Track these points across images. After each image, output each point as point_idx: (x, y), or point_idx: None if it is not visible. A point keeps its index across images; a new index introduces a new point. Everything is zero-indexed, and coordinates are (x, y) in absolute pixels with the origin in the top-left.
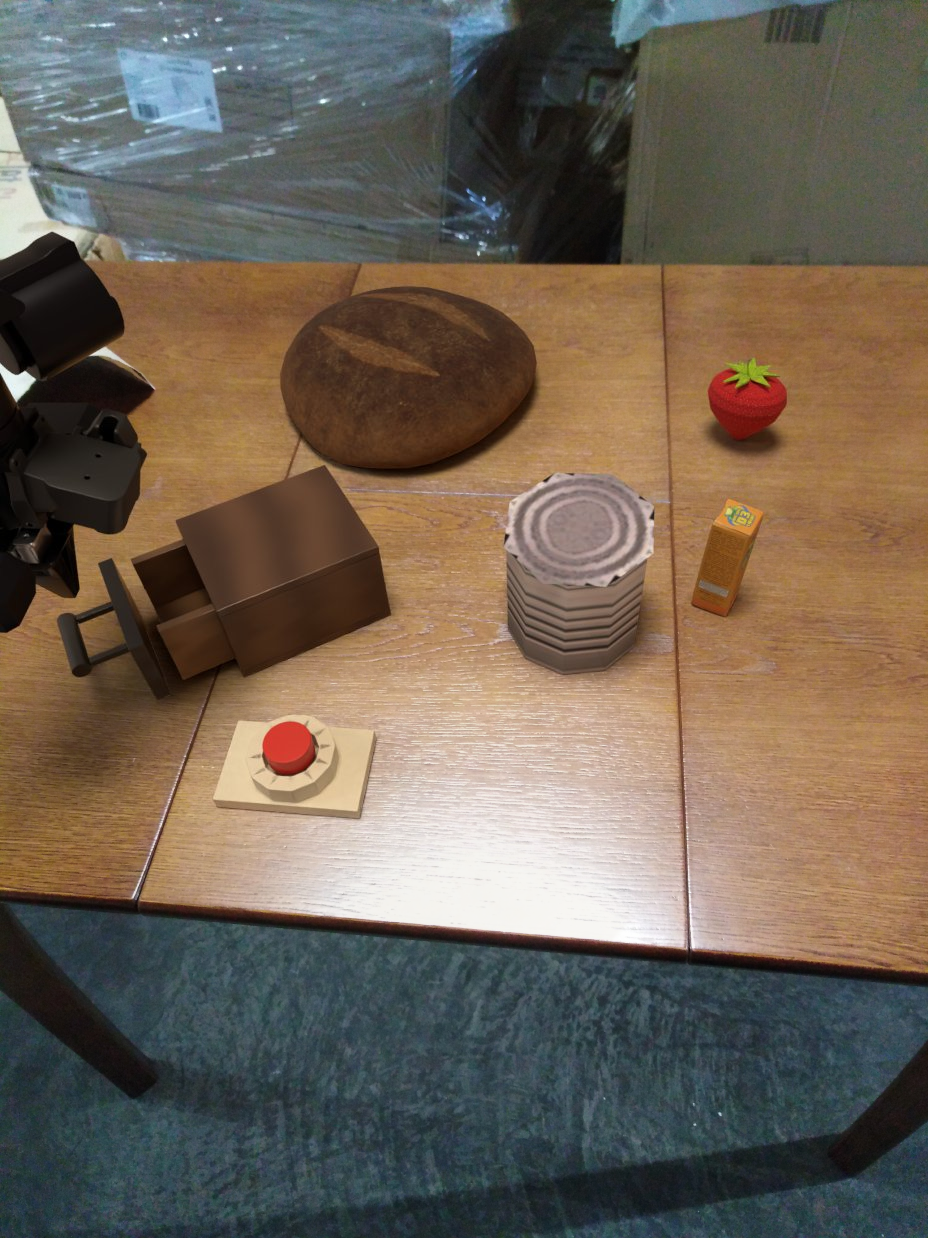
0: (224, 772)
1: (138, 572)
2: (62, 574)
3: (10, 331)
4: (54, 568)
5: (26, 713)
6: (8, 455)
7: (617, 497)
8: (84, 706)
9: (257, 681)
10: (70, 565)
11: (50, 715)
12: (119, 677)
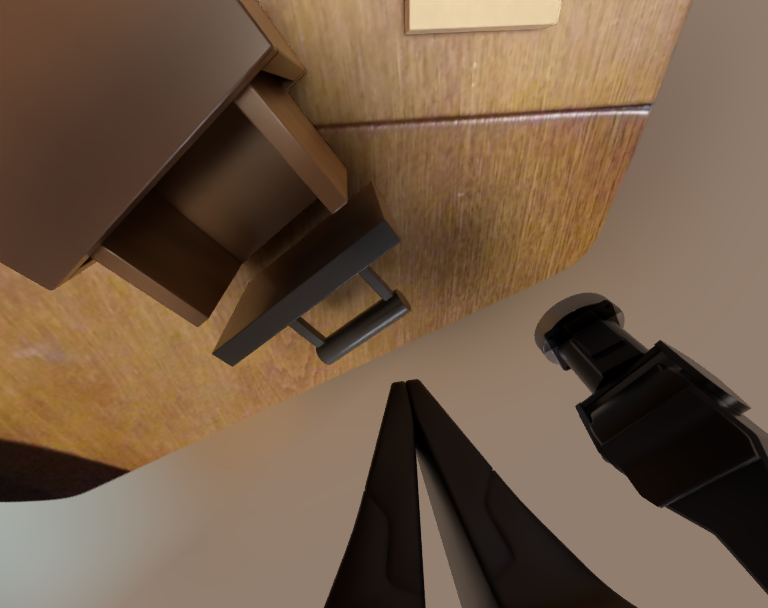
0: (510, 18)
1: (214, 303)
2: (485, 474)
3: None
4: (554, 541)
5: (406, 330)
6: None
7: None
8: (392, 283)
9: (307, 38)
10: (414, 462)
11: None
12: None
